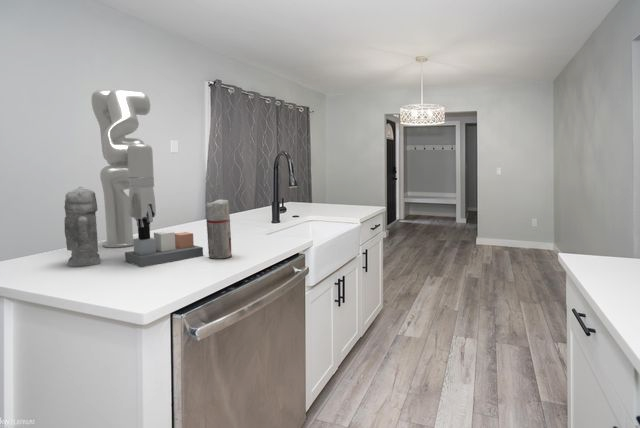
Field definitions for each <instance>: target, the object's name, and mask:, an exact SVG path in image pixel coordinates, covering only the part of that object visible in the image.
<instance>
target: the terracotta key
mask: <svg viewBox="0 0 640 428" xmlns="http://www.w3.org/2000/svg"><path fill="white" fill-rule="evenodd" d="M190 247H194V233H193V232H188V231H182V232H176V233H175V248H178V249H184V248H190Z"/></svg>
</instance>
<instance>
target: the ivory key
mask: <svg viewBox="0 0 640 428" xmlns="http://www.w3.org/2000/svg"><path fill="white" fill-rule="evenodd" d="M153 238H154V239H155V243H156V250H157V251H160V252H164V251H170V250H175V231H170V230H164V231H163V230H162V231H156V232H153Z"/></svg>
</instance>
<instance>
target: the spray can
mask: <svg viewBox="0 0 640 428" xmlns="http://www.w3.org/2000/svg"><path fill="white" fill-rule="evenodd" d="M205 208H206V209H205V211H206V213H205V219H206V221H205V222H206V232H207V247H208V248H207V250H208V256H209V257H208V258H210V259H214V260H215V259H218V260H219V259H226V258H231V257H232V256H233V255H232V236H231V234H232V233H231V218H230V217H231V215H230V201H229V200H227V199H216V200H214V201H213V202H208V203H206V207H205Z"/></svg>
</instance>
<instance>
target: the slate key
mask: <svg viewBox="0 0 640 428" xmlns="http://www.w3.org/2000/svg"><path fill="white" fill-rule="evenodd" d="M133 241H134V245H133V251H134V254H136V255H140V256H142V255H148V254H154V253H156V243H155V239H154V237H150V238H149V239H142V240H141V239H139V238H138V237H136V238H133Z"/></svg>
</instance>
